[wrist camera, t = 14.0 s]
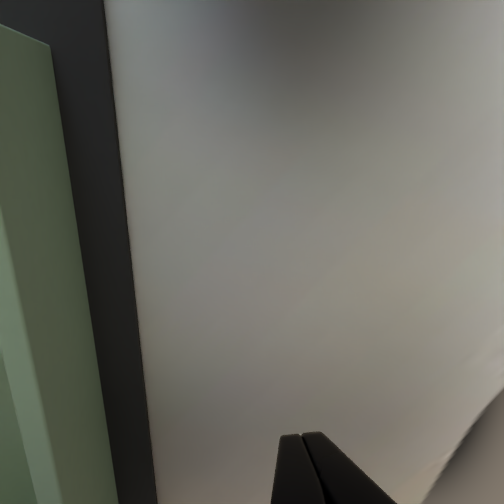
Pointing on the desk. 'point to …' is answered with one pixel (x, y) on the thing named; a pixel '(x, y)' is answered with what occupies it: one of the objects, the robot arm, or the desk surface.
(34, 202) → the open storage box
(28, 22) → the placemat
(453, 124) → the desk surface
